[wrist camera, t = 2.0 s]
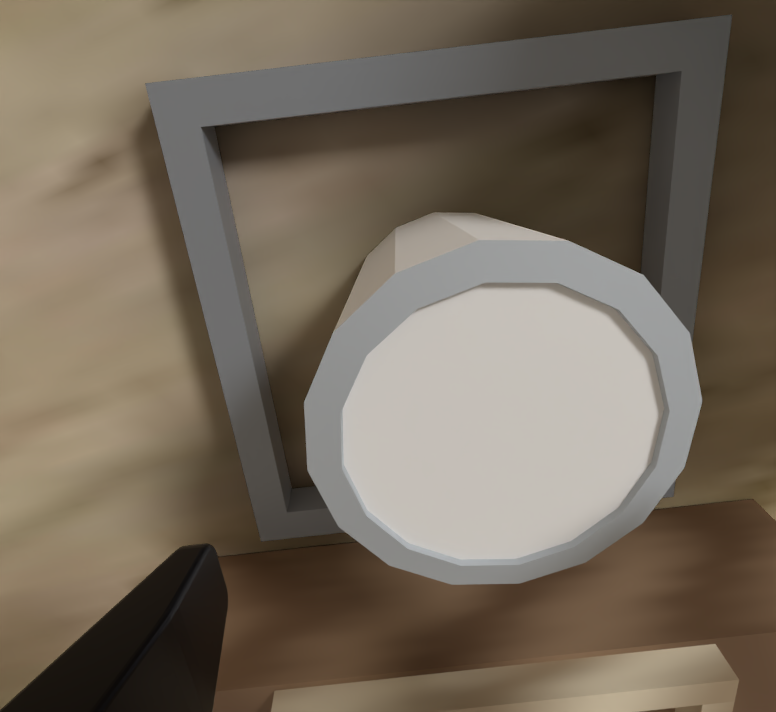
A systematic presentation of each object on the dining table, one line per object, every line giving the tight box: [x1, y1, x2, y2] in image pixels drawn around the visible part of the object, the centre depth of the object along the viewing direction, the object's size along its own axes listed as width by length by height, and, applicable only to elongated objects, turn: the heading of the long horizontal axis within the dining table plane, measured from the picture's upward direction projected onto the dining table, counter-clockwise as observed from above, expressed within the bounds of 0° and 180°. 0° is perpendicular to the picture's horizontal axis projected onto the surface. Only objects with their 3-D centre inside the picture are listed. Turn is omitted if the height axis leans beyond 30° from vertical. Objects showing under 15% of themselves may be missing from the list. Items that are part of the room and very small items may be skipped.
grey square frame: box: [145, 15, 732, 541], centre depth 15 cm, size 13×13×1 cm
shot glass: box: [304, 212, 702, 585], centre depth 13 cm, size 7×7×7 cm
